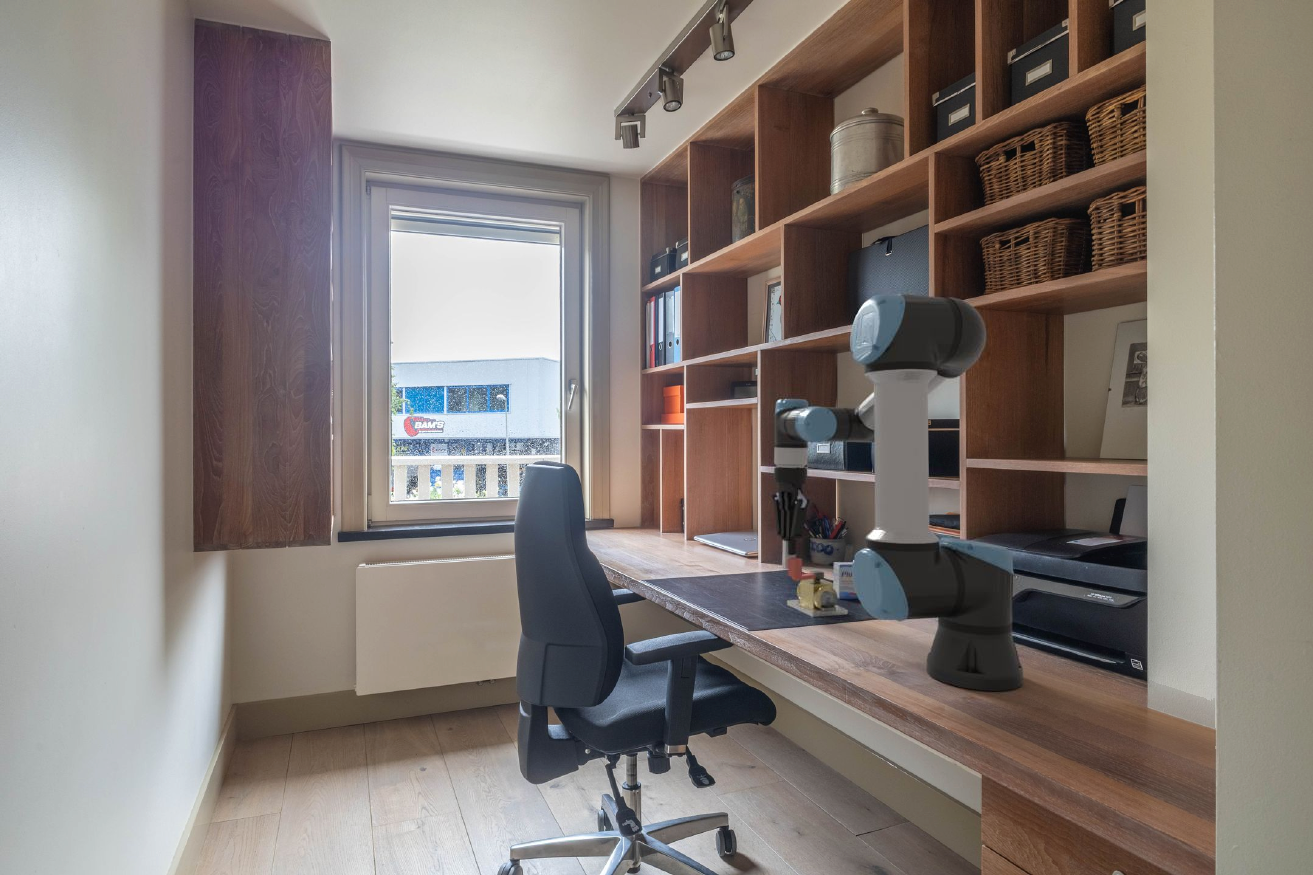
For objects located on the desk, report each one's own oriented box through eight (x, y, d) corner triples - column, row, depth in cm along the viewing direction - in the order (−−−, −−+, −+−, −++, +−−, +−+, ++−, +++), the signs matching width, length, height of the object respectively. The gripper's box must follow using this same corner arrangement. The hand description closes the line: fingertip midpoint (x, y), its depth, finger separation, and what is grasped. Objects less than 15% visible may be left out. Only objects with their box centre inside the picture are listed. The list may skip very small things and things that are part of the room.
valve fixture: (847, 614, 167) (847, 583, 167) (812, 616, 164) (812, 585, 164) (820, 602, 178) (820, 573, 178) (787, 604, 176) (787, 575, 176)
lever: (826, 578, 171) (827, 556, 171) (796, 583, 165) (796, 560, 165) (816, 576, 173) (817, 554, 173) (786, 580, 168) (786, 558, 168)
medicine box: (838, 599, 182) (839, 564, 182) (832, 595, 186) (833, 561, 186) (869, 599, 183) (869, 564, 182) (862, 595, 187) (863, 561, 187)
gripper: (820, 467, 164) (818, 572, 164) (790, 464, 176) (788, 562, 176) (791, 468, 161) (789, 574, 162) (762, 464, 173) (760, 563, 174)
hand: (788, 568), depth 169 cm, fingers closed
